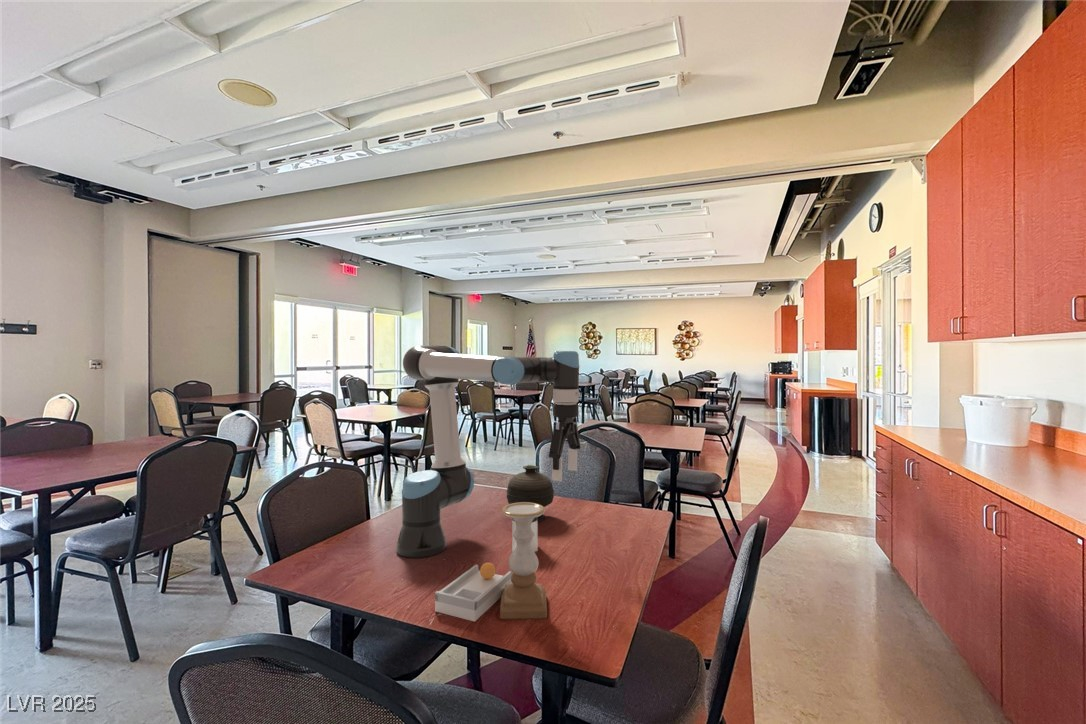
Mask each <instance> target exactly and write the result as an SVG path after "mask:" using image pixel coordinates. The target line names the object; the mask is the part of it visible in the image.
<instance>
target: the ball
mask: <svg viewBox="0 0 1086 724" xmlns="http://www.w3.org/2000/svg"><path fill="white" fill-rule="evenodd" d="M479 571H480V574H481V576H482V577H483V578H484V579H490V578H492V577H493V576H494V574H496V567H495V565H494V564H493V563H492V562H484V563H483V564H481V566H480V569H479Z"/></svg>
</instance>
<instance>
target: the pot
mask: <svg viewBox="0 0 1086 724" xmlns="http://www.w3.org/2000/svg"><path fill="white" fill-rule="evenodd" d="M522 468H523V469H524V470H525V471H522V472H519V473H517V474H515V475H514V476H513V477H511V478H510V480H509V482H508V483H507V488H506V489H507V490H506V500H507V503H508V504H512V503H518V502H531V503H537V504H540V505H542V506H543V507H544V508H545V507H547V506H549V505H551V504H552V503H553V502H554V501H553V500H554V497H555V495H554V493H555V490H554V487H553V483H552V482H553V481H552V479H550V478H549V477H548V476H547V475H546V474H544V473H542V472H538V471H537V470H539V466H538V465H532V464H528V465H523V466H522ZM544 519H545V515H544V513H543V514H542V515H541V516H539V517H538V519H537V522H541V521H543V520H544Z"/></svg>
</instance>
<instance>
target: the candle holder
mask: <svg viewBox="0 0 1086 724" xmlns="http://www.w3.org/2000/svg"><path fill="white" fill-rule="evenodd" d="M501 512H502V514H503V515H504V516H505V517H507V518H510V519H512V518H513V520H514V521H515V523H516V530H515V532H514V533H513V537H514V538H515V540H516V542H517V545H516V548H515V550H514V552H513V551H512V553H511V554H510V557H509V559H508V562H507V563H508V568H509V571H510V572H512V576H511V582H512V584H506V585H505V589H503V590H502V595H501V598H500V605H499V606H500V607H499V618H500V620H534V619H537V620H538V619H541V620H542V619H546V618H548V610H547V609H548V608H547V607H548V606H547V605H548V604H547V594H546V593H547V592H546V588H545V587H543V585H542V583H536V581H537V576H536V574H535V572H536V571H537V570H538V567H539V563H540V562H539V558H538V556H537V554H536V552H534V551H533V549H532V547H531V545H530V543H531V540H532V538H533V537H534V532H533V531H532V529H531V522H532V521H533V520H534V518H536V517H539V516H541V515H542V514H543V515H544V513H545V507H543V506H542V505H540V504H537V503H531V502H518V503H512V504H509V503H508V504H506V505H505V506H503V507H502V511H501Z"/></svg>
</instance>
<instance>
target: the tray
mask: <svg viewBox="0 0 1086 724" xmlns="http://www.w3.org/2000/svg"><path fill="white" fill-rule="evenodd" d="M512 574H513V572H512V571H511V570H508V572H506V573H505V574H504V575H501V574H496V573H495V574H494V576H493V577H492V578H490V579H484V578H483V577H482V576H481V574H480V570H479V565H478V564H474V565H473V566H472V567H471V568H469V569H468V570H466V571H465V572H463V573H462V574H461V575H460V576H458V577H456V578H455V579H454V580H453V581H451V582H450V583H449V584H447V585H445V586H444V587H443V588H442V589H440V590H437V591H435V592H434V612H437V613H440V614H445V615H448V616H452V617H456V618H460V619H463V620H466V621H472V622H476V621H477V620H478V619H480V617H481V616H483V615H484V614H485V613H486V612H487V611H488V610H489V609H490V608H491V607H492V606H493V605H494V604H495V603H496V602H497V601H499V600H500V599H501V595H502V590H503V589H505V585H506V584H513V583H512V582H511V576H512Z"/></svg>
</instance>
